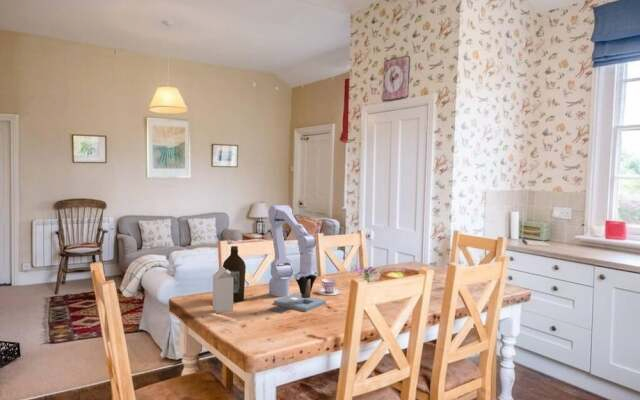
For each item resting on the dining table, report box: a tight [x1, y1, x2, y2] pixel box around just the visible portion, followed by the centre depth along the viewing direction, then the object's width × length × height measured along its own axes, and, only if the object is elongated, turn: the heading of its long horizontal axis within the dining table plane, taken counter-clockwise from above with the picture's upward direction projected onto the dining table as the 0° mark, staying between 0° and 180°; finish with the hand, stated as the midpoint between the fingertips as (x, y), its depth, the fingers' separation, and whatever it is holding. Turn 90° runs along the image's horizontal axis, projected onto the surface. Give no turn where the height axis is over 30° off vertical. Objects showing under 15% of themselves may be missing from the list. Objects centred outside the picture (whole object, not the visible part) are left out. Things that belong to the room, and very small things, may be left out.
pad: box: [266, 305, 292, 314], centre depth 189 cm, size 8×8×1 cm
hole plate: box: [273, 293, 327, 313], centre depth 198 cm, size 18×15×3 cm
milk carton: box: [212, 265, 234, 315], centre depth 187 cm, size 7×7×19 cm
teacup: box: [316, 278, 342, 296], centre depth 222 cm, size 12×12×6 cm
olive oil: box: [222, 245, 247, 303], centre depth 205 cm, size 11×11×25 cm
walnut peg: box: [300, 277, 311, 298], centre depth 196 cm, size 4×4×8 cm
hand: (305, 292), depth 196 cm, fingers closed on walnut peg, 4 cm apart
